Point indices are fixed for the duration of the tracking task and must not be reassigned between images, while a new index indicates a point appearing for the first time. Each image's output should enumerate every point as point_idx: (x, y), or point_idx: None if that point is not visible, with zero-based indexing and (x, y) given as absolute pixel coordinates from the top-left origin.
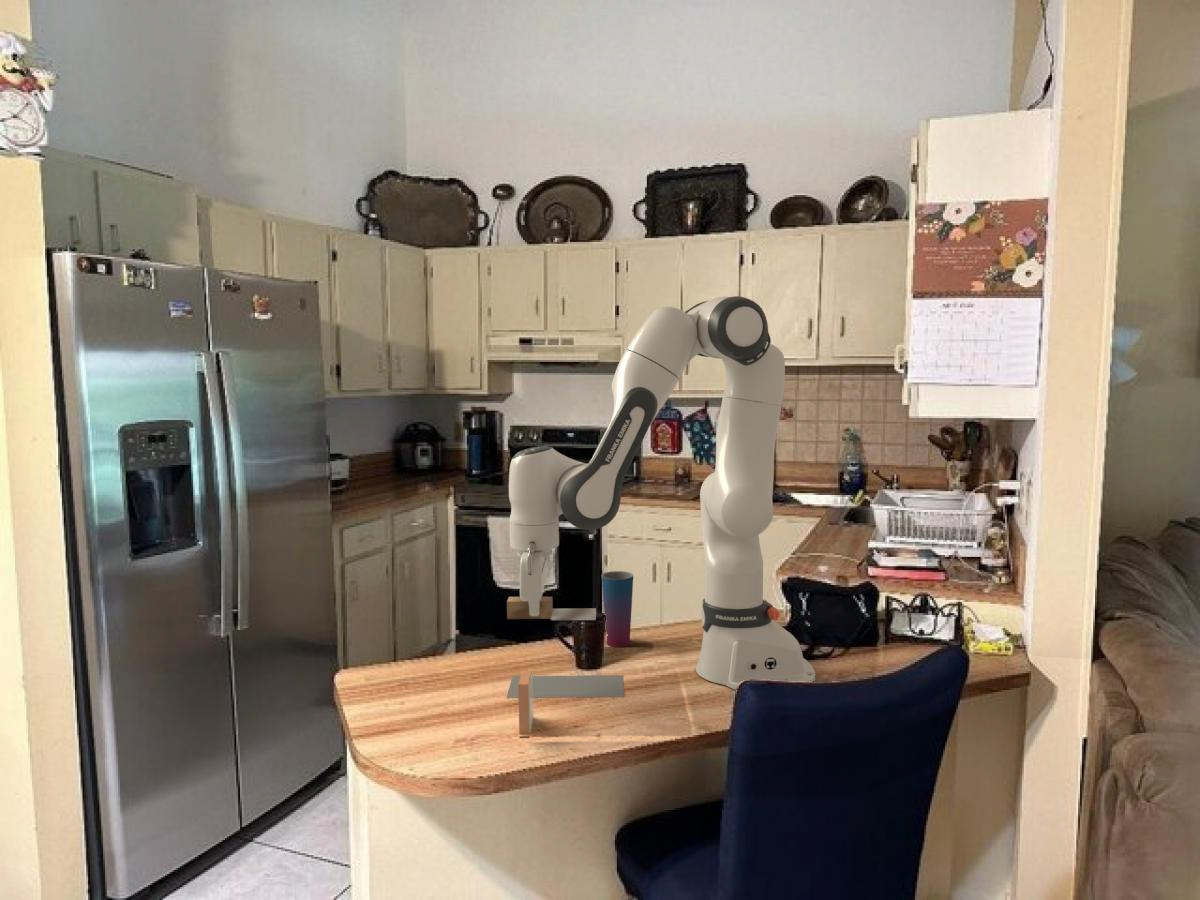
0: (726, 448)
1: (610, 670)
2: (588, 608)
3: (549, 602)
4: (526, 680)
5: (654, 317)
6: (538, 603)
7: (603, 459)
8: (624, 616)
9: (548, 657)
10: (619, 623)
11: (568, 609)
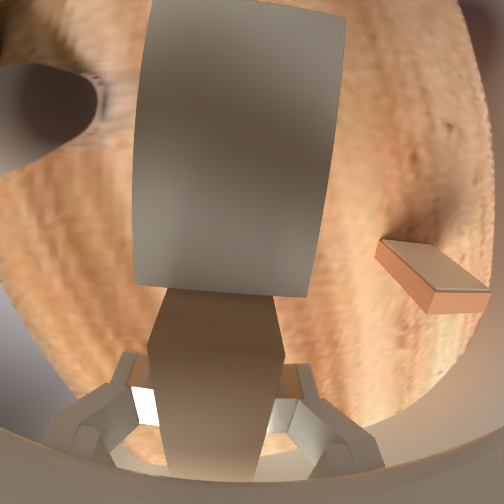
0: None
1: (113, 50)
2: (145, 45)
3: (283, 360)
4: (476, 298)
5: None
6: (344, 417)
7: None
8: None
9: (34, 205)
10: None
11: (152, 184)
